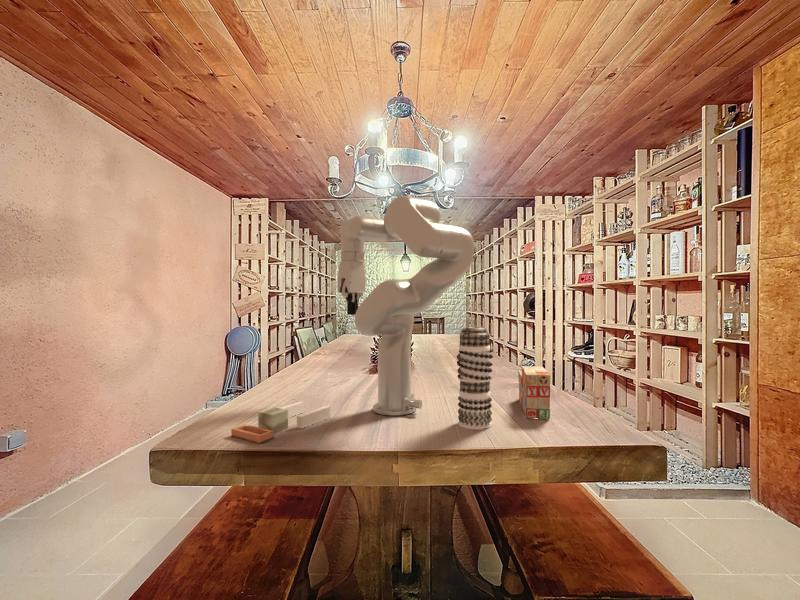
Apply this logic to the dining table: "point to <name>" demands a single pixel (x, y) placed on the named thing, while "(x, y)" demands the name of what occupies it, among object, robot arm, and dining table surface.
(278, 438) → the dining table surface
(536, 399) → the stack of blocks
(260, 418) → the sage block
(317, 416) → the walled channel
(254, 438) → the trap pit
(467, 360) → the decorative candle
